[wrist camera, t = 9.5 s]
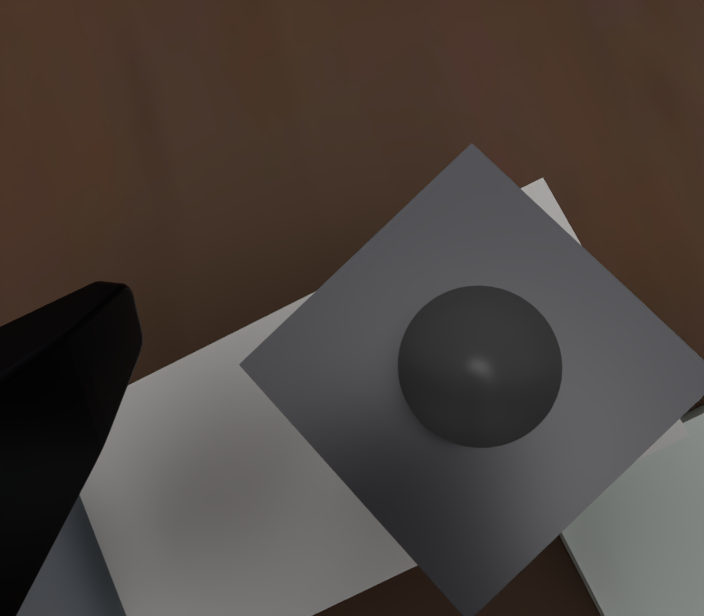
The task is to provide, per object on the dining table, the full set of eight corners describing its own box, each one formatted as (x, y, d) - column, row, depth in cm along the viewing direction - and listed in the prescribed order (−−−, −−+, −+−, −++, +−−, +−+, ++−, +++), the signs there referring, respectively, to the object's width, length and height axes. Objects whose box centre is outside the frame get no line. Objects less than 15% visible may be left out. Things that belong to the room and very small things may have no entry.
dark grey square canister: (444, 492, 20) (476, 678, 7) (343, 382, 21) (196, 357, 8) (551, 389, 20) (792, 373, 7) (446, 284, 21) (480, 87, 8)
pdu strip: (-24, 753, 21) (-115, 824, 18) (-101, 521, 22) (-200, 544, 19) (651, 429, 20) (698, 436, 17) (526, 207, 21) (546, 170, 18)
